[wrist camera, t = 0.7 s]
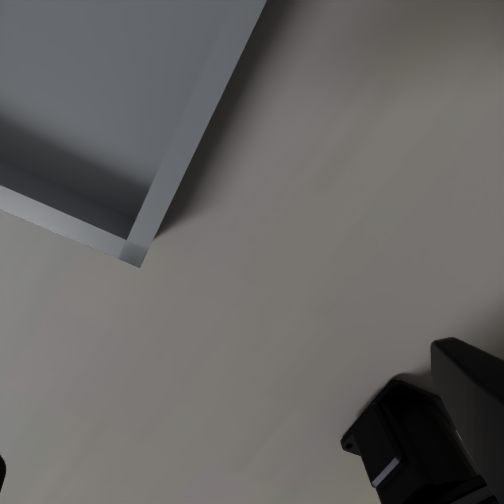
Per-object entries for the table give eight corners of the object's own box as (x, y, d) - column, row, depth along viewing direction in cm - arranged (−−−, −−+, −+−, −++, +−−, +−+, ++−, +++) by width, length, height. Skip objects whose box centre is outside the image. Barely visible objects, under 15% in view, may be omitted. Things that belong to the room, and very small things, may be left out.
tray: (286, -45, 16) (300, -72, 13) (151, 241, 20) (139, 268, 18) (-131, -338, 12) (-239, -465, 9) (-182, 94, 17) (-264, 97, 14)
